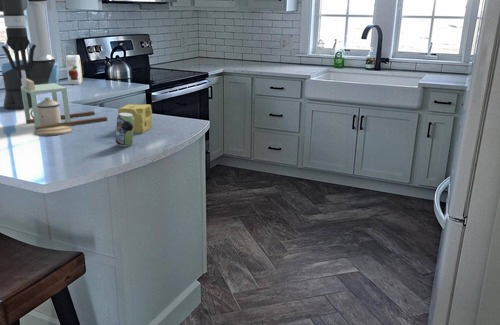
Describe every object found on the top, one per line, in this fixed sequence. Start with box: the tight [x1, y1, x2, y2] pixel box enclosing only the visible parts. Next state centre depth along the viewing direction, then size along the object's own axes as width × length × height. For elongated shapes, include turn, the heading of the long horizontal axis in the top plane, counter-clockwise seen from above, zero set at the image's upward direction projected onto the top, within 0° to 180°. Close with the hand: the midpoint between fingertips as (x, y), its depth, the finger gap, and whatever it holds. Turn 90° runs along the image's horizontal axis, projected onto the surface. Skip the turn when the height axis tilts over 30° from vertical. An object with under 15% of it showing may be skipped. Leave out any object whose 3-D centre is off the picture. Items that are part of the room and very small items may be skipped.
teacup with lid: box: [29, 97, 62, 126], centre depth 205 cm, size 12×9×12 cm
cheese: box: [117, 103, 153, 134], centre depth 196 cm, size 10×11×10 cm
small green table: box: [21, 78, 72, 127], centre depth 204 cm, size 17×14×18 cm
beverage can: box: [115, 113, 134, 147], centre depth 173 cm, size 6×7×12 cm
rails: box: [25, 110, 108, 131], centre depth 212 cm, size 18×30×2 cm, turn 127°
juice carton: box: [65, 54, 84, 85], centre depth 316 cm, size 8×9×19 cm
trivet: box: [34, 126, 73, 137], centre depth 195 cm, size 14×14×1 cm
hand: (24, 86), depth 198 cm, fingers closed
